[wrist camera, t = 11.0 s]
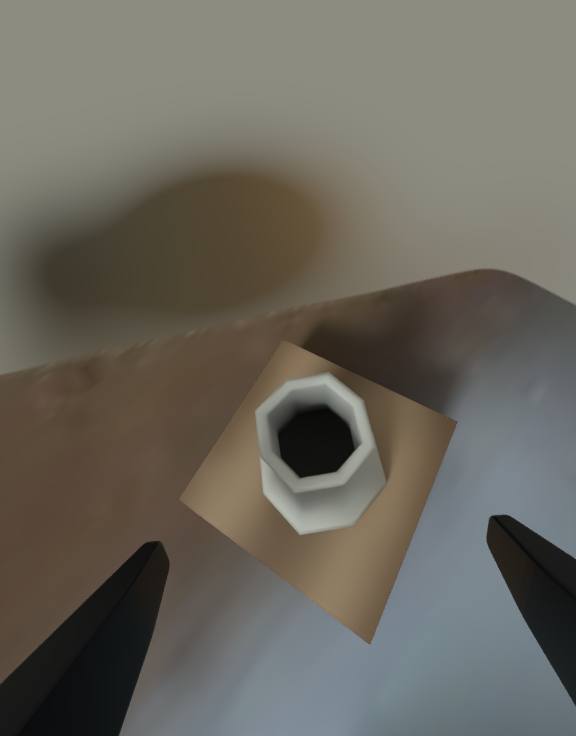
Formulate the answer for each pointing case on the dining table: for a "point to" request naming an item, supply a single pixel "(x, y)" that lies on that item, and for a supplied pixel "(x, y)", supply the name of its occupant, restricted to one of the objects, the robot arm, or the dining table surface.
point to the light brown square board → (340, 546)
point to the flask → (318, 454)
